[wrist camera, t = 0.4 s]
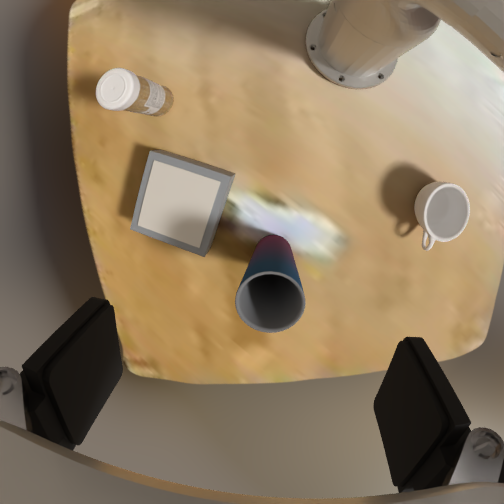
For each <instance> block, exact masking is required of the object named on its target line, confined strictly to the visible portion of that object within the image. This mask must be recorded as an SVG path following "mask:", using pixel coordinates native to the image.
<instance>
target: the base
mask: <svg viewBox="0 0 504 504" xmlns="http://www.w3.org/2000/svg"><path fill="white" fill-rule="evenodd" d="M234 177H235V173H232V172H229V171H226V170H223V169H220V168H217V167H214V166H211V165H208V164H205V163H202V162H199V161H196V160H193V159H190V158H187V157H184V156H180V155H177V154H174V153H171V152H168V151H164V150H151V151H150V152H149V156H148V159H147V163H146V167H145V170H144V174H143V178H142V182H141V186H140V189H139V193H138V198H137V202H136V206H135V210H134V215H133V219H132V224H131V228H130V229H131V230H134V231H136V232H139V233H141V234H144V235H147V236H149V237H152V238H155V239H157V240H160V241H163V242H165V243H168V244H171V245H173V246H176V247H179V248H182V249H184V250H187V251H190V252H192V253H195V254H198V255H200V256H203V257H205V256H206V254H207V253H208V251H209V249H210V248H211V245H212V242H213V239H214V236H215V233H216V230H217V227H218V224H219V221H220V218H221V215H222V212H223V209H224V206H225V203H226V200H227V197H228V194H229V191H230V188H231V186H232V183H233V180H234Z"/></svg>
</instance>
